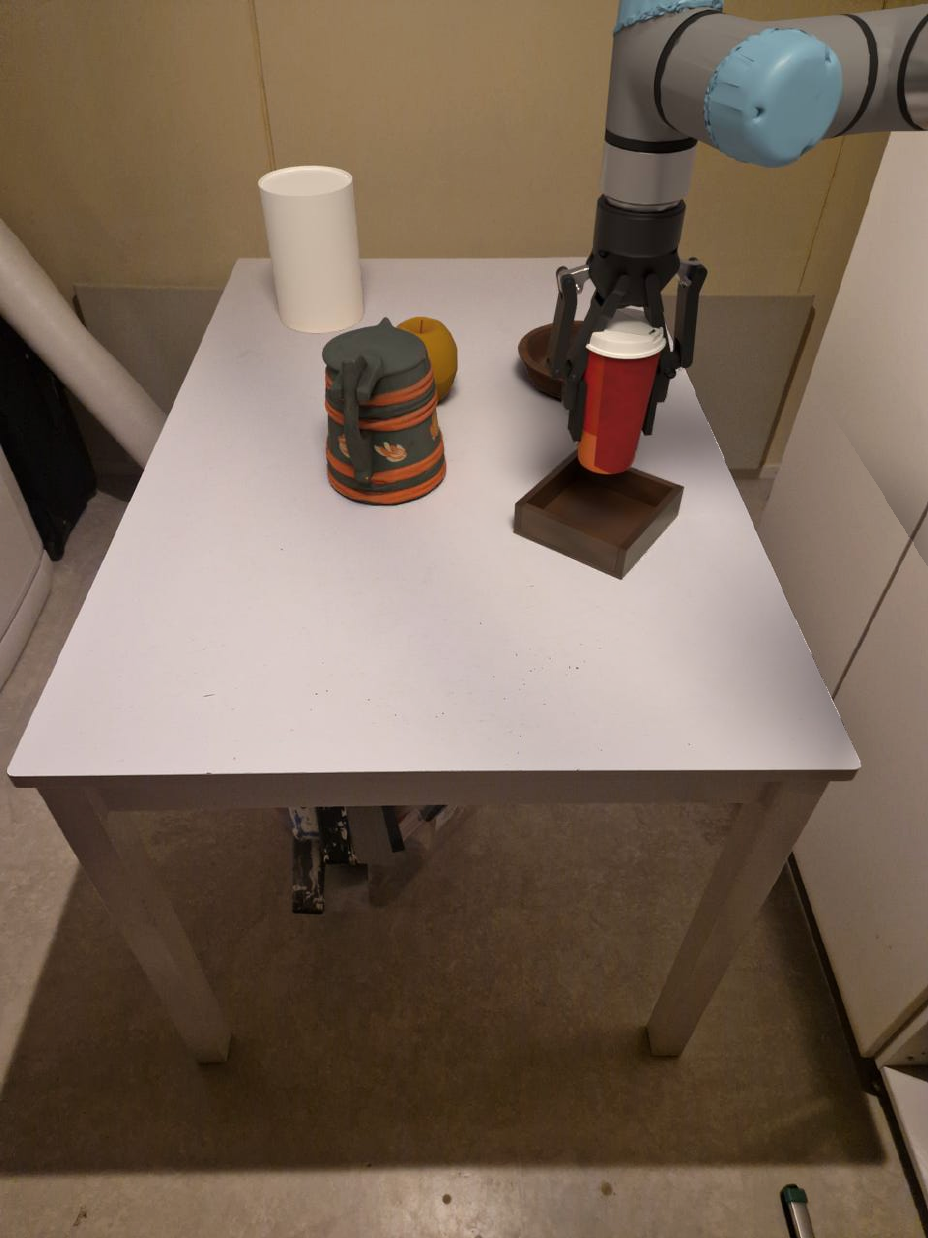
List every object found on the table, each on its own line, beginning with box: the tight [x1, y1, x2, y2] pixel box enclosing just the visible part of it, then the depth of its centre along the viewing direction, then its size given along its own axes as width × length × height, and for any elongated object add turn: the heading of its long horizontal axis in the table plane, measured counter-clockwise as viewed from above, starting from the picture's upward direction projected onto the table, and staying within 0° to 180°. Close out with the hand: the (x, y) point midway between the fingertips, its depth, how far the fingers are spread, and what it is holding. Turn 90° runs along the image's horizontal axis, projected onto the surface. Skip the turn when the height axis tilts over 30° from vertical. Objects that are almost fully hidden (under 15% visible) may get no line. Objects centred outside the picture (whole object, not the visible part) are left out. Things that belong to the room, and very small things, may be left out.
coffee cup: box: [577, 307, 666, 474], centre depth 83 cm, size 8×8×15 cm
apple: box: [395, 316, 459, 403], centre depth 110 cm, size 10×10×12 cm
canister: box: [257, 165, 365, 334], centre depth 127 cm, size 14×14×20 cm
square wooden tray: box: [513, 447, 685, 581], centre depth 93 cm, size 14×14×4 cm
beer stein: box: [321, 316, 447, 505], centre depth 93 cm, size 19×15×20 cm
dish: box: [517, 319, 584, 399], centre depth 116 cm, size 18×22×5 cm
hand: (609, 431), depth 86 cm, fingers closed on coffee cup, 7 cm apart
